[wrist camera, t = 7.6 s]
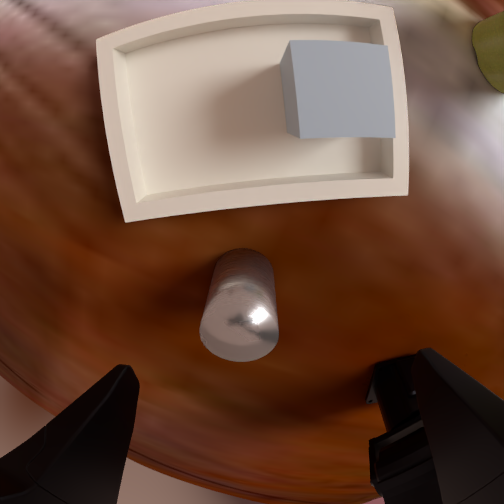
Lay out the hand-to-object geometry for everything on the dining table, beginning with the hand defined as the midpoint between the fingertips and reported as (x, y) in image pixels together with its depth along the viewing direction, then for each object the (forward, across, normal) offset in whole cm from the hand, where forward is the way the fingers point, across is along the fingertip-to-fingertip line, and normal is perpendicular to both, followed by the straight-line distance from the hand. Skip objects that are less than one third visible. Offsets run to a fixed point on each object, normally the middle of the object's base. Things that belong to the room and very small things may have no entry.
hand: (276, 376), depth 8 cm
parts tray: (+11, 0, -8) cm, 14 cm away
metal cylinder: (+12, +2, +3) cm, 12 cm away
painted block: (+11, -3, -8) cm, 14 cm away
